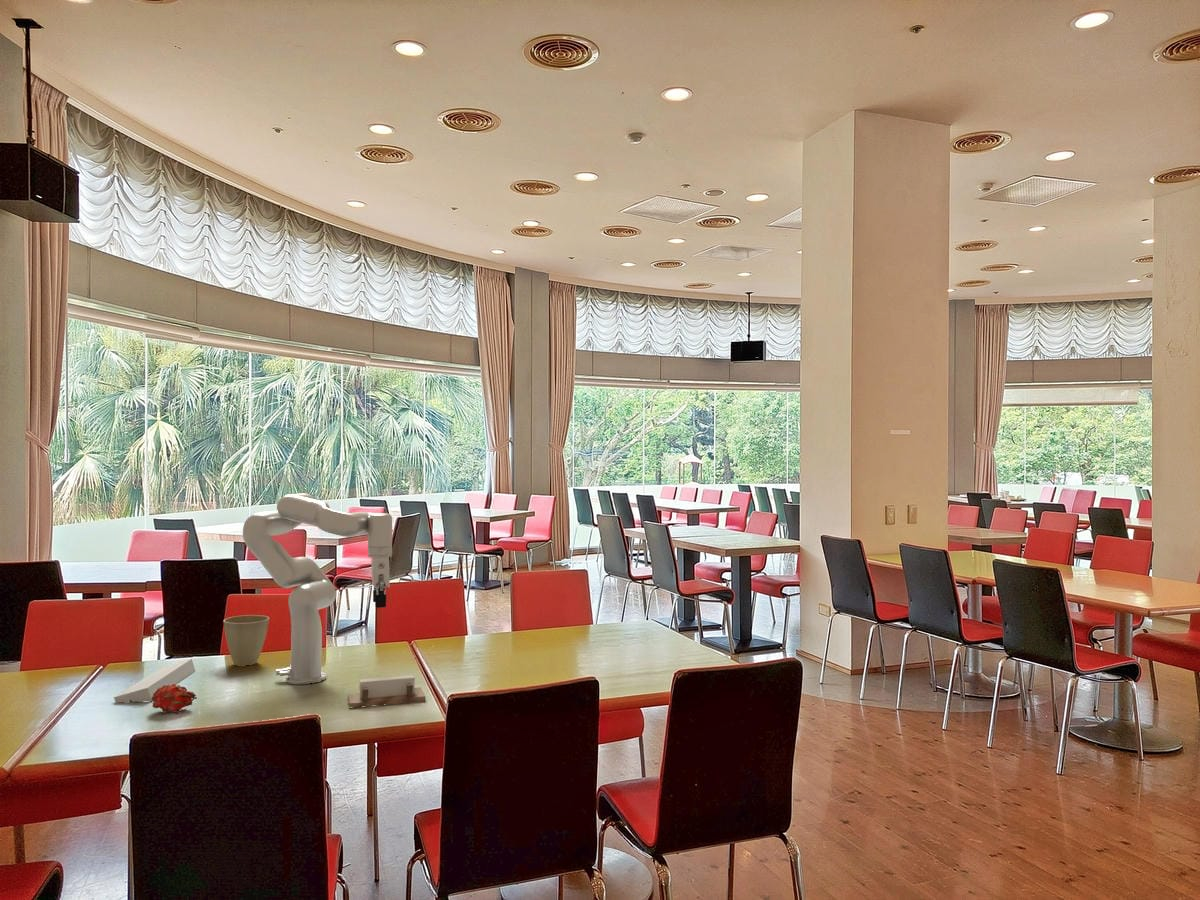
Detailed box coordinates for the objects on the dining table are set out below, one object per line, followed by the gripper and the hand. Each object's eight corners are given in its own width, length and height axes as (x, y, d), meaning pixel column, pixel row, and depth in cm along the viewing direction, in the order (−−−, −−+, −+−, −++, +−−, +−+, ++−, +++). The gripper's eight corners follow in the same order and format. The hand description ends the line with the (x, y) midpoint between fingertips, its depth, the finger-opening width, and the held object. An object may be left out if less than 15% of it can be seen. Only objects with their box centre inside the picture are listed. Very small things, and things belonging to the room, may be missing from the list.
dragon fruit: (148, 717, 231) (193, 720, 234) (143, 707, 225) (189, 710, 227) (158, 688, 236) (201, 692, 239) (153, 677, 230) (198, 681, 232)
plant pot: (248, 670, 275) (249, 624, 275) (213, 667, 279) (213, 621, 279) (277, 660, 289) (278, 616, 290) (243, 657, 294) (244, 613, 294)
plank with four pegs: (349, 708, 235) (349, 691, 235) (347, 698, 245) (348, 682, 245) (425, 701, 243) (425, 684, 243) (420, 692, 252) (421, 676, 252)
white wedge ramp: (117, 712, 239) (152, 702, 240) (113, 697, 239) (147, 687, 240) (165, 680, 273) (195, 672, 274) (161, 667, 273) (191, 658, 274)
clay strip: (360, 698, 240) (360, 682, 240) (359, 696, 243) (359, 679, 243) (414, 693, 245) (414, 677, 245) (413, 691, 248) (413, 675, 248)
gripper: (394, 554, 252) (394, 608, 252) (389, 548, 268) (388, 599, 268) (369, 555, 249) (369, 610, 249) (366, 548, 266) (365, 600, 266)
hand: (379, 604), depth 259 cm, fingers open, 9 cm apart
